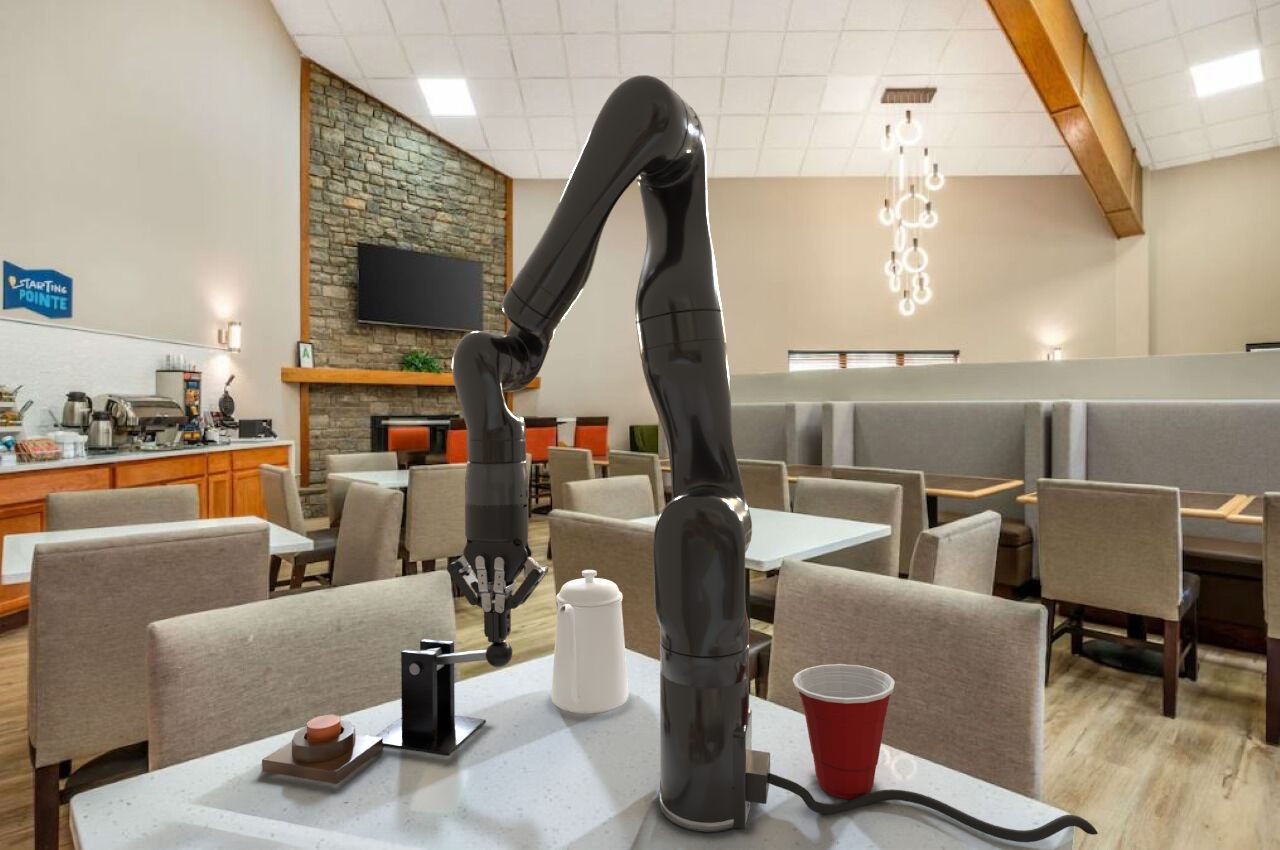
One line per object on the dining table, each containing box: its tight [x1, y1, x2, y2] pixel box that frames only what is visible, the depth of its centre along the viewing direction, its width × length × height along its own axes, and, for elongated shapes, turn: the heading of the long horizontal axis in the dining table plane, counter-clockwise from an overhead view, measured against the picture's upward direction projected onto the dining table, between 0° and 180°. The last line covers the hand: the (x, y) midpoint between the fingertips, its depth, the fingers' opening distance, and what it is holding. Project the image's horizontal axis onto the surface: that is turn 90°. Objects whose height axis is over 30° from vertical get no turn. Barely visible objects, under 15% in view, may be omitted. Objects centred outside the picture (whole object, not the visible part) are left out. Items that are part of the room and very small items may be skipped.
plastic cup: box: [792, 663, 896, 800], centre depth 74 cm, size 11×11×12 cm
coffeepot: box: [551, 569, 629, 714], centre depth 95 cm, size 11×25×19 cm, turn 168°
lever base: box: [374, 638, 487, 757], centre depth 85 cm, size 11×9×12 cm
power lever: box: [419, 640, 513, 670], centre depth 83 cm, size 13×3×3 cm, turn 74°
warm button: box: [306, 714, 342, 742], centre depth 78 cm, size 4×4×2 cm
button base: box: [261, 720, 384, 785], centre depth 78 cm, size 10×8×4 cm
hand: (497, 640), depth 82 cm, fingers closed
